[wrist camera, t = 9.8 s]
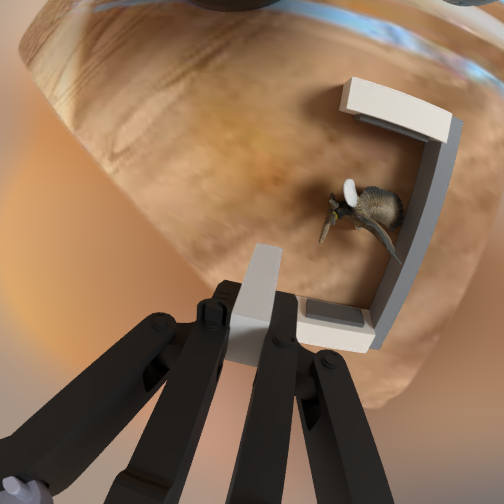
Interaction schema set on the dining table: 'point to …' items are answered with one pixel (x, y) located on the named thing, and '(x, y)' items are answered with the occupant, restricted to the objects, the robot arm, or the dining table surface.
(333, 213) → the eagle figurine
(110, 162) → the dining table surface
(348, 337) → the rail
